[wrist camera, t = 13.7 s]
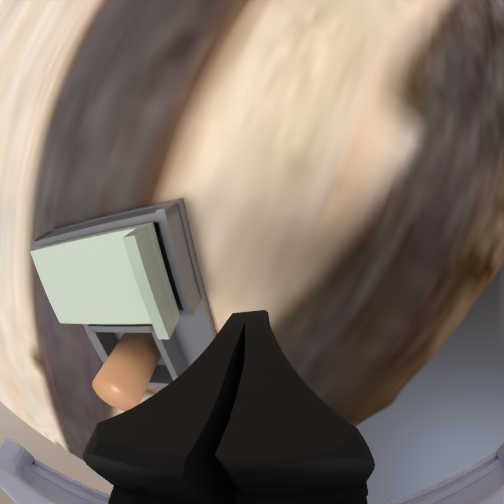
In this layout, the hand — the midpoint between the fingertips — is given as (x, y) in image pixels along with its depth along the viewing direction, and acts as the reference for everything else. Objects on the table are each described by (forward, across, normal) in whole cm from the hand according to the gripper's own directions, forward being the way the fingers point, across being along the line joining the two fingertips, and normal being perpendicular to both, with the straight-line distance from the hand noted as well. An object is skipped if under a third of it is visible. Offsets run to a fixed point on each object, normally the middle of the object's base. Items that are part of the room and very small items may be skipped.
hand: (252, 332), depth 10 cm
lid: (+7, +12, 0) cm, 14 cm away
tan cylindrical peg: (+9, +12, +8) cm, 17 cm away
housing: (+10, +12, +4) cm, 16 cm away
